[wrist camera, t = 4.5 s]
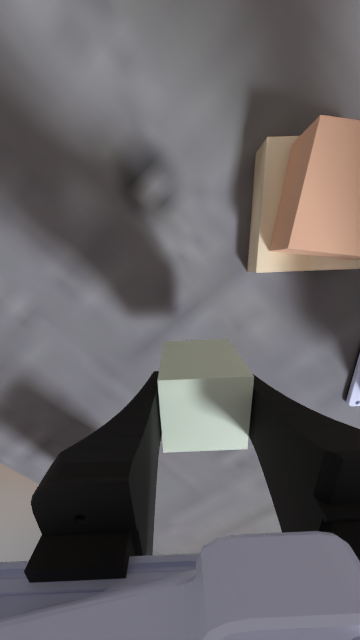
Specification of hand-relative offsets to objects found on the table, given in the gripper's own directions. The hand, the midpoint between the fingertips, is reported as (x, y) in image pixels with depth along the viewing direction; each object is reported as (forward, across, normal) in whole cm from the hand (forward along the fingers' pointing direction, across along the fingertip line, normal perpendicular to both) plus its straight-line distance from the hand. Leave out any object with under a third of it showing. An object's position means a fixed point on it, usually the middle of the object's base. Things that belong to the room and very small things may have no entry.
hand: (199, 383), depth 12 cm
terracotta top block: (+5, -10, -11) cm, 16 cm away
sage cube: (+2, 0, 0) cm, 2 cm away
